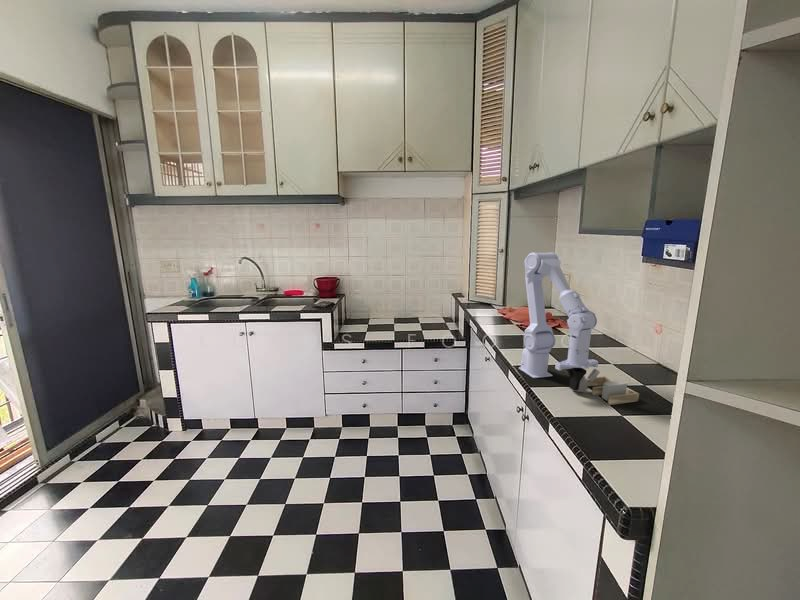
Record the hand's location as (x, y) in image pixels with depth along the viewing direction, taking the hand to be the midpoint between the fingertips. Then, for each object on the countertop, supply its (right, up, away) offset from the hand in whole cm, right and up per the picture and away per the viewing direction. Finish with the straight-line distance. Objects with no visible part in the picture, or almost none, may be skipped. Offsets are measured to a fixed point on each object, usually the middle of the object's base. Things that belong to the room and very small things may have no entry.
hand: (574, 388), depth 112 cm
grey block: (+11, -2, -3) cm, 12 cm away
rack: (+10, -1, 0) cm, 10 cm away
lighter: (+4, -1, +1) cm, 4 cm away
